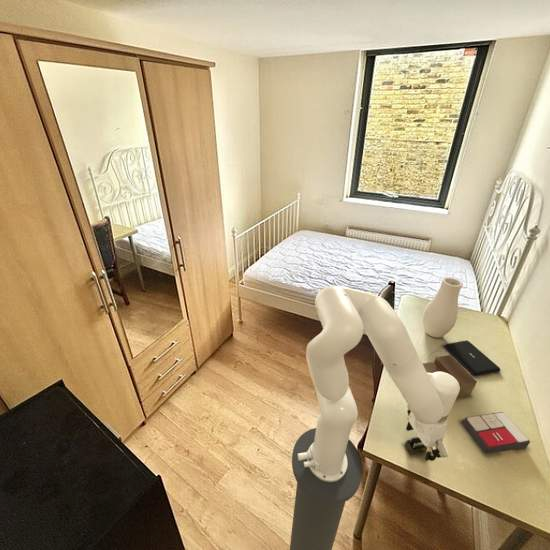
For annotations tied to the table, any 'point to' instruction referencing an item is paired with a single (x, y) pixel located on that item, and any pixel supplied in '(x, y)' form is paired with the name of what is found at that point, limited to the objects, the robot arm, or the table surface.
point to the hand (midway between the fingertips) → (419, 443)
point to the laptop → (472, 358)
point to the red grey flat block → (495, 433)
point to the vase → (442, 308)
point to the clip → (415, 446)
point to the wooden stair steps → (453, 373)
